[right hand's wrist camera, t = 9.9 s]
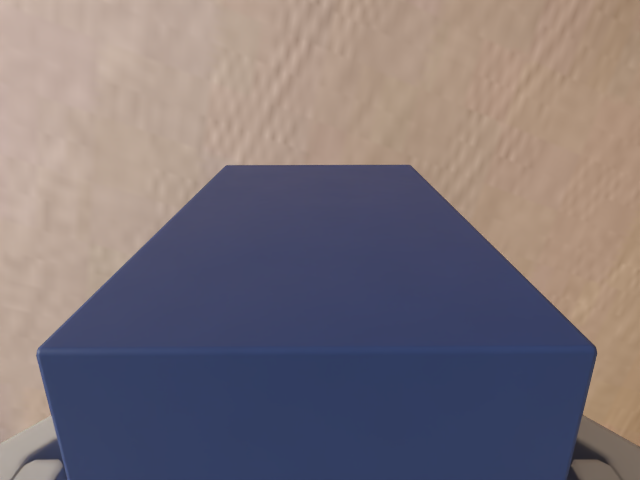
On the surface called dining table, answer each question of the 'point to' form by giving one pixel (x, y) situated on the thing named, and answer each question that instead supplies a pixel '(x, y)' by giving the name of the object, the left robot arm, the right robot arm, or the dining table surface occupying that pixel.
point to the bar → (317, 343)
